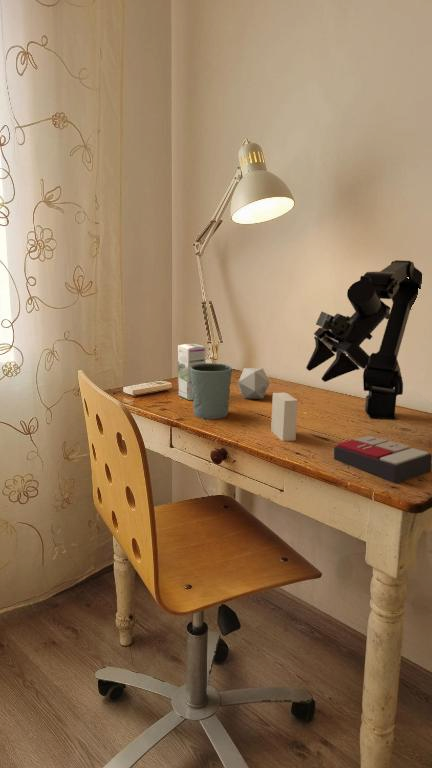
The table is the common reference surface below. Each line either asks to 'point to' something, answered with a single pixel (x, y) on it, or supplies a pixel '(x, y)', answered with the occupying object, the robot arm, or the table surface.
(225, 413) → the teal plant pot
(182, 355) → the syrup box
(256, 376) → the die
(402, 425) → the table surface
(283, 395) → the white box grey panel
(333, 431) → the table surface
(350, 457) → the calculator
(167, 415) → the table surface
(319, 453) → the table surface
